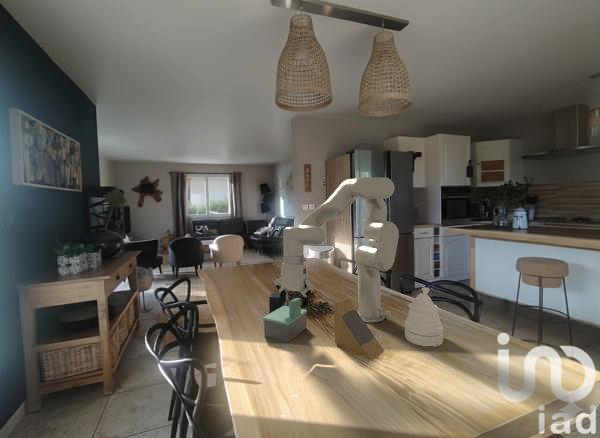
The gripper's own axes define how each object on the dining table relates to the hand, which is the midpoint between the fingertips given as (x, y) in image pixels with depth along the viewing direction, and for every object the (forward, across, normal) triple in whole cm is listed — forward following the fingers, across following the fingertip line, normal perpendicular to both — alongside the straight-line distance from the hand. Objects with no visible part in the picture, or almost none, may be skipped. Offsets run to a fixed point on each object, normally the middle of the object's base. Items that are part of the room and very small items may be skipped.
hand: (293, 304), depth 108 cm
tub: (+12, +4, -1) cm, 13 cm away
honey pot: (+12, -43, -21) cm, 49 cm away
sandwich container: (+12, -24, -3) cm, 28 cm away
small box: (+12, +16, -14) cm, 24 cm away
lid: (+5, +4, 0) cm, 7 cm away
